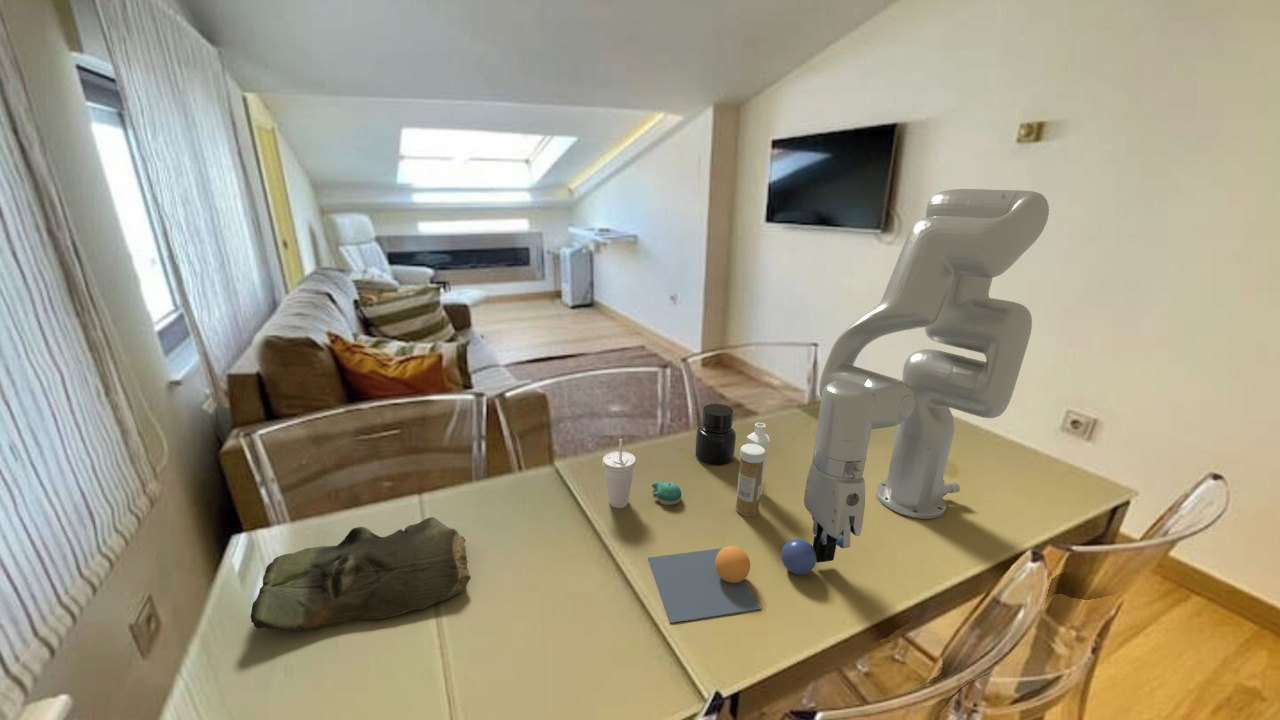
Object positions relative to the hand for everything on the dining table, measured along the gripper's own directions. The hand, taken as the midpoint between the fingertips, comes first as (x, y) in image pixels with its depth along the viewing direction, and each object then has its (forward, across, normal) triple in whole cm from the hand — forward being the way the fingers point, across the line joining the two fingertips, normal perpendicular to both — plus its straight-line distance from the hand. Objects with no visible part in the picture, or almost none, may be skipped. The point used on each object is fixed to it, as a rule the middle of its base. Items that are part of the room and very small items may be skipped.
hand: (822, 558), depth 87 cm
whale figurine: (+2, +24, +20) cm, 32 cm away
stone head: (+2, +10, +71) cm, 72 cm away
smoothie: (+2, +24, +30) cm, 38 cm away
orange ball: (-1, 0, +16) cm, 16 cm away
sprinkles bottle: (+2, +17, +6) cm, 18 cm away
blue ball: (-1, 0, +5) cm, 5 cm away
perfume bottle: (+2, +23, +2) cm, 23 cm away
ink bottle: (+2, +38, +5) cm, 38 cm away
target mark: (+2, 0, +21) cm, 21 cm away
